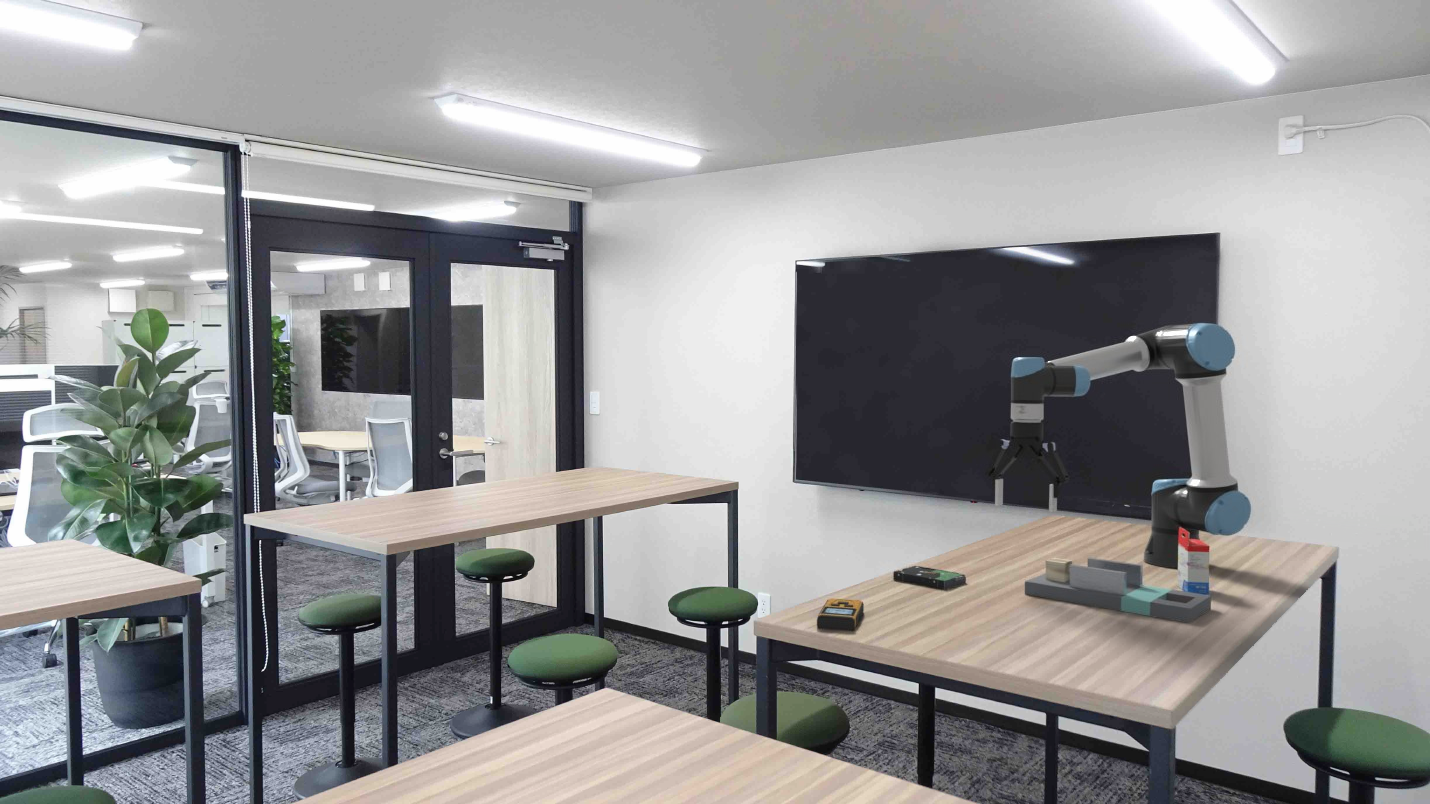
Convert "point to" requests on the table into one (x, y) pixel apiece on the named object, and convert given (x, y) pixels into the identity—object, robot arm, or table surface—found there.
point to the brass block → (1058, 569)
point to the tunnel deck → (1120, 591)
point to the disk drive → (929, 577)
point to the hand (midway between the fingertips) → (1025, 508)
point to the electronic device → (840, 614)
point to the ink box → (1193, 564)
